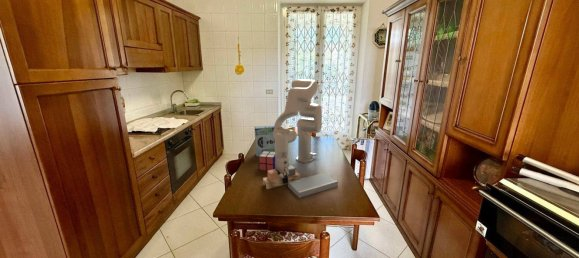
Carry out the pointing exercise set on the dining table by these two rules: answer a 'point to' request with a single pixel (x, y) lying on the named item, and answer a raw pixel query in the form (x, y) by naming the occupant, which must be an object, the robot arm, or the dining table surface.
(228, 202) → the dining table surface
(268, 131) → the gum box
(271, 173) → the terracotta crate
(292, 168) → the block
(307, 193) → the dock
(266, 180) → the pallet
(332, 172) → the dining table surface
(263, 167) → the puzzle cube
